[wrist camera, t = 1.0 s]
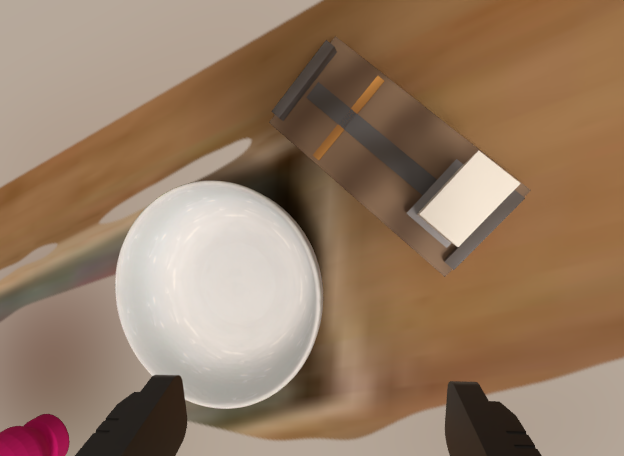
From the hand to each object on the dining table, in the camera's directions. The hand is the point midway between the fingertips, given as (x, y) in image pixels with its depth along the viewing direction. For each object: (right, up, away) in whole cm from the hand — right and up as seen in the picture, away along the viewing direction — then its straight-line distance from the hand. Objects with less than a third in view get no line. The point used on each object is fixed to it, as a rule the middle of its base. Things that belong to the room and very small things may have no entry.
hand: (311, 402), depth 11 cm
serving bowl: (-8, -1, +29) cm, 30 cm away
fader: (+12, +7, +21) cm, 25 cm away
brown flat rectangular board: (+7, +12, +24) cm, 28 cm away
